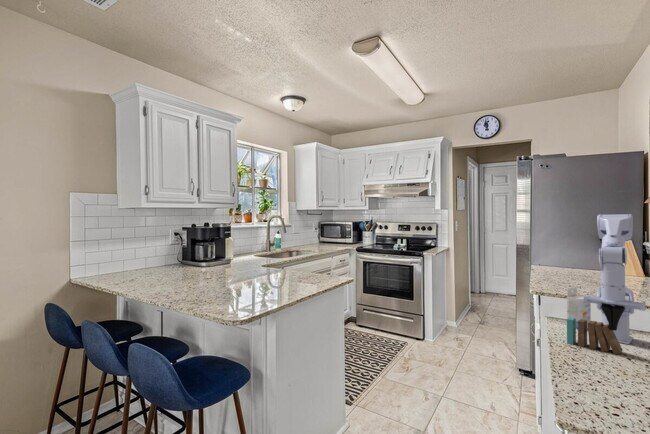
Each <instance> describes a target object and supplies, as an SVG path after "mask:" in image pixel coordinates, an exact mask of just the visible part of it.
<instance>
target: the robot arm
mask: <svg viewBox="0 0 650 434" xmlns="http://www.w3.org/2000/svg"><path fill="white" fill-rule="evenodd" d="M633 216H634V215H632V213H627V214H626V213H624V214H622V213H621V214H617V213H616V214H601V213H599V214H598V215H597V216H596V226H597V233H598V234H597V235H598V237H599V239H601V247H599V249H598V262H599V269H600V286H599V287H598V288H597V290H596V291H597V292H596V296H592V295H583V296H584V302H586V303H588V302H589V303H591V304H596V308H597V309H598V311H600V312H601V322H603V324H604V325H606V324H609V327H610V330H613V332H614V334H615V336H616V338H617V340H618V342H619V344H625V345H629V344H631V342H632V341H633V339H634V336H630V315H633V314H634V313H635V310H637V311H638V310H639V311H643V312H645V311H646V308H647V307H646V303H645V302H638V301H635V296H634V292H633V290H632V289H630V288H629V287H627V286H626V266H627V264H628V263H627V262H628V260H627V258H628V257H627V253H628V252H627V248H626V242H627V241H629V240H632V237H633V230H634V217H633Z"/></svg>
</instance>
